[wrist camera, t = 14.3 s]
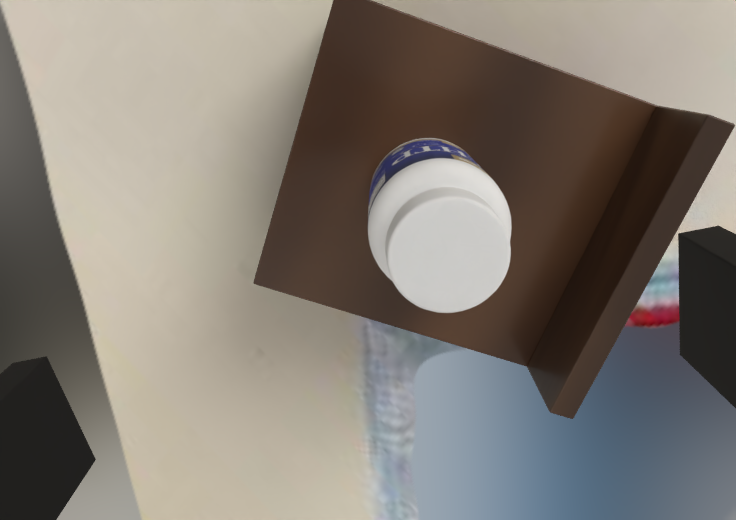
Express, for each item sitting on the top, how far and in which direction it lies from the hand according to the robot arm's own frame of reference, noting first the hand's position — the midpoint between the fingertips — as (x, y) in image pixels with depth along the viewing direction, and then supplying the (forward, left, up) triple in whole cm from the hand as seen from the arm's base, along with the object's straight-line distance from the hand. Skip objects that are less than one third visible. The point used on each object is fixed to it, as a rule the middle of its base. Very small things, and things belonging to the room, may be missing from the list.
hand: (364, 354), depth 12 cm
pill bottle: (+3, +1, -15) cm, 16 cm away
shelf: (+4, +1, -23) cm, 24 cm away
